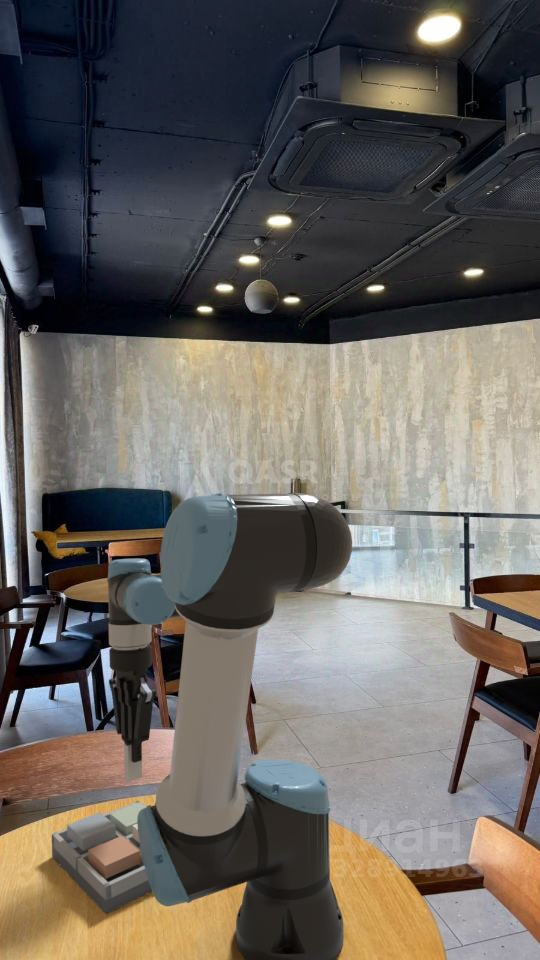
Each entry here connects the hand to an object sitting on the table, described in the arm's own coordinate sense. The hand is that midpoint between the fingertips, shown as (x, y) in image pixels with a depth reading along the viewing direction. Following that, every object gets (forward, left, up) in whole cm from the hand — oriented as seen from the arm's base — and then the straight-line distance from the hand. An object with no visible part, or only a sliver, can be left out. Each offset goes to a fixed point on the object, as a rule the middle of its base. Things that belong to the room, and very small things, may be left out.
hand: (133, 777), depth 113 cm
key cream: (-8, 0, -8) cm, 11 cm away
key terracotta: (-8, +8, -9) cm, 14 cm away
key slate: (0, +8, -8) cm, 11 cm away
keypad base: (-4, +4, -12) cm, 13 cm away
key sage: (0, 0, -9) cm, 9 cm away
